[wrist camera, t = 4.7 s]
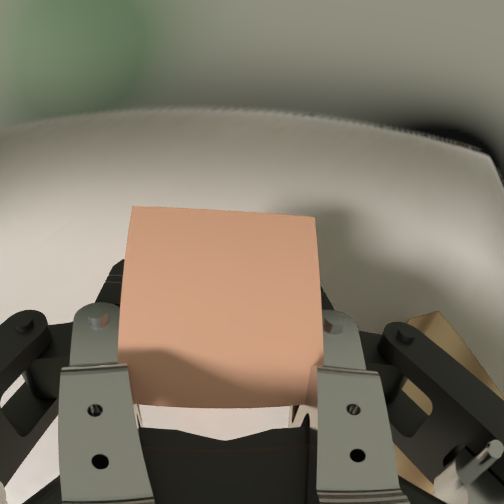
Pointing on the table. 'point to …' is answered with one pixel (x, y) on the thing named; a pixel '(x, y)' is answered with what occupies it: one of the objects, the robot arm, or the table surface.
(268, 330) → the block
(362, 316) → the table surface
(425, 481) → the base slab
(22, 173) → the table surface
